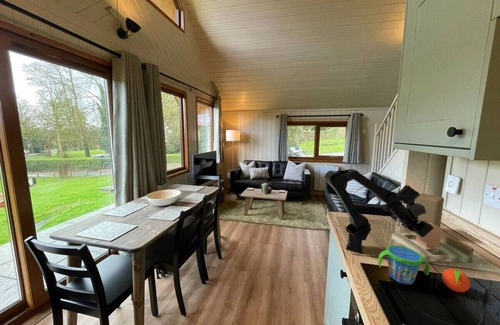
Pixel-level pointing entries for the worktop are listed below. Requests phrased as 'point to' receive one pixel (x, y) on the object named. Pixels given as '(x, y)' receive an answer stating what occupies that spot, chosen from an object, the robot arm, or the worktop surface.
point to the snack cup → (403, 263)
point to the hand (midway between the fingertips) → (421, 233)
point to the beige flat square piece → (437, 248)
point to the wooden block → (431, 208)
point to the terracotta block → (431, 237)
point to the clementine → (456, 280)
